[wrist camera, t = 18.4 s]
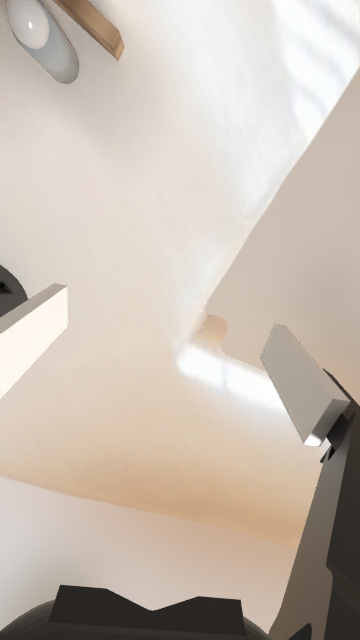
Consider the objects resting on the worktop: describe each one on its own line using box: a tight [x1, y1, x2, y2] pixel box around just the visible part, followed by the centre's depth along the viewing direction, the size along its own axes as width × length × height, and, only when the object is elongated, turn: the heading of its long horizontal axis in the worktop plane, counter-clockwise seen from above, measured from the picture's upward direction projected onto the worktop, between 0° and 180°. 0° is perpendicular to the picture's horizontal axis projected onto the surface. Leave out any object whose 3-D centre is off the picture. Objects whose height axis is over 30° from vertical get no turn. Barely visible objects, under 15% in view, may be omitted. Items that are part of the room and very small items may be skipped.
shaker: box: [6, 0, 79, 84], centre depth 25 cm, size 4×4×9 cm
